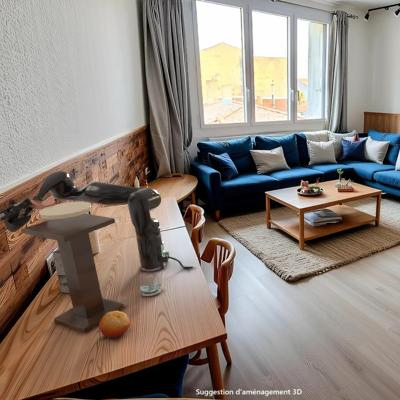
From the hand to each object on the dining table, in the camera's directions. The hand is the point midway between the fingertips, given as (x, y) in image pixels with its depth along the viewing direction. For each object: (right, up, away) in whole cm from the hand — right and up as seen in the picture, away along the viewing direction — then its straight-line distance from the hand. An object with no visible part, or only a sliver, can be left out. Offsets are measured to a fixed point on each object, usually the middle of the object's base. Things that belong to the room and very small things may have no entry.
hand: (34, 199), depth 107 cm
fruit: (+27, -41, -4) cm, 49 cm away
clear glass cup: (+29, -34, +18) cm, 48 cm away
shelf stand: (+13, -38, +6) cm, 40 cm away
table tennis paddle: (+8, -3, -2) cm, 9 cm away
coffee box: (-1, -33, +23) cm, 40 cm away
